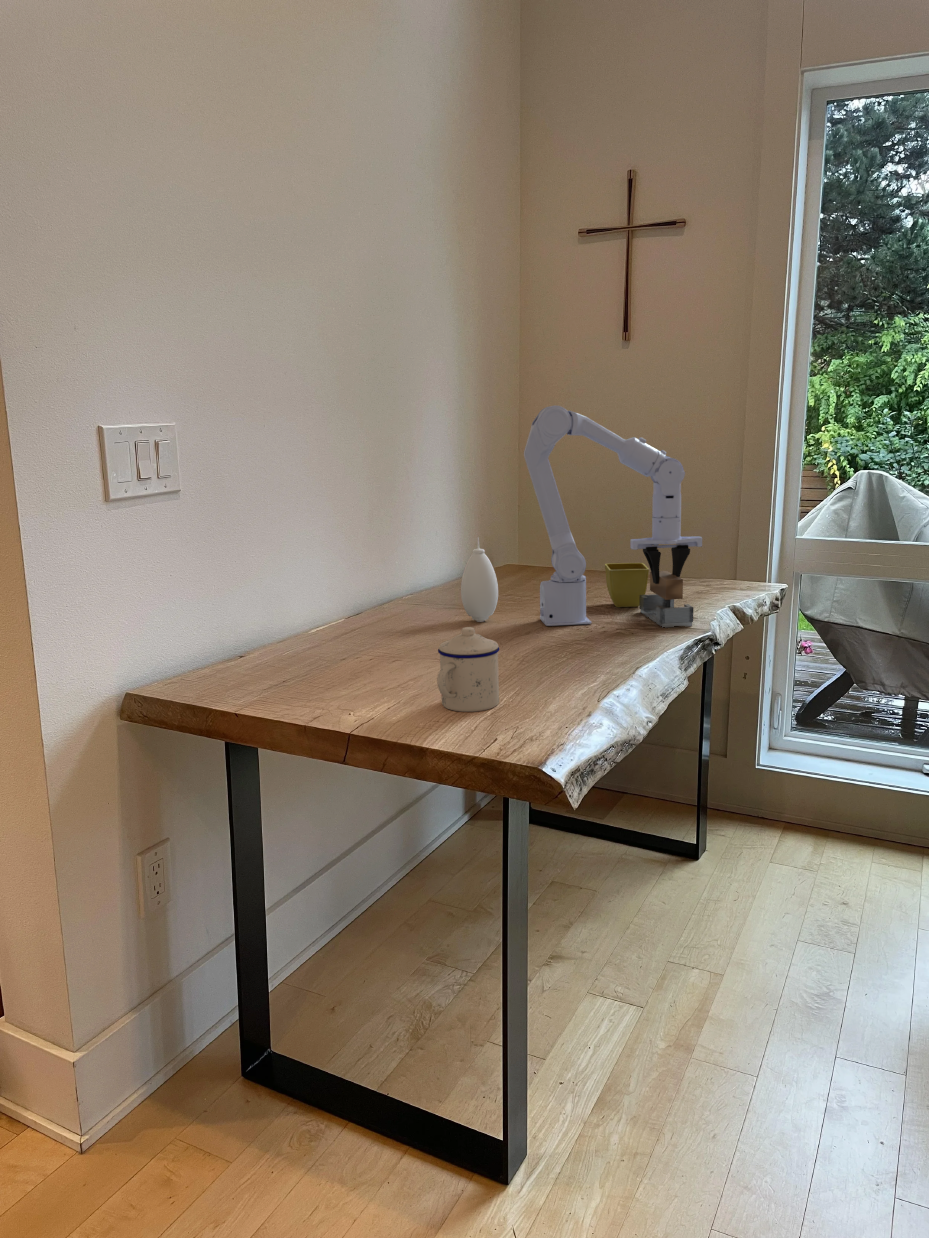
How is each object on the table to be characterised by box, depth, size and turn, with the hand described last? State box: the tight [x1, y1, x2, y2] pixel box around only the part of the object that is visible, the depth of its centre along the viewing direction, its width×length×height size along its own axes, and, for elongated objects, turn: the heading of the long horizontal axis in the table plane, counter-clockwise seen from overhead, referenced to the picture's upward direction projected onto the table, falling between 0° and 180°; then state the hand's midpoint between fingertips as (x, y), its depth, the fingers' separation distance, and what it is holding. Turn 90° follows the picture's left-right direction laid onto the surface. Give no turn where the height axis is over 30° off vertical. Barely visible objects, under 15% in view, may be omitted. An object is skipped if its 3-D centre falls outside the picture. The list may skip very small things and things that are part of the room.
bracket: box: [638, 593, 694, 628], centre depth 194 cm, size 7×16×4 cm, turn 5°
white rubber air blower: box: [460, 536, 499, 623], centre depth 196 cm, size 8×8×18 cm
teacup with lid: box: [436, 626, 500, 713], centre depth 138 cm, size 12×9×12 cm
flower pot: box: [604, 562, 650, 608], centre depth 209 cm, size 9×9×9 cm
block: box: [649, 570, 684, 600], centre depth 193 cm, size 4×11×4 cm, turn 5°
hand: (665, 582), depth 193 cm, fingers closed on block, 3 cm apart
